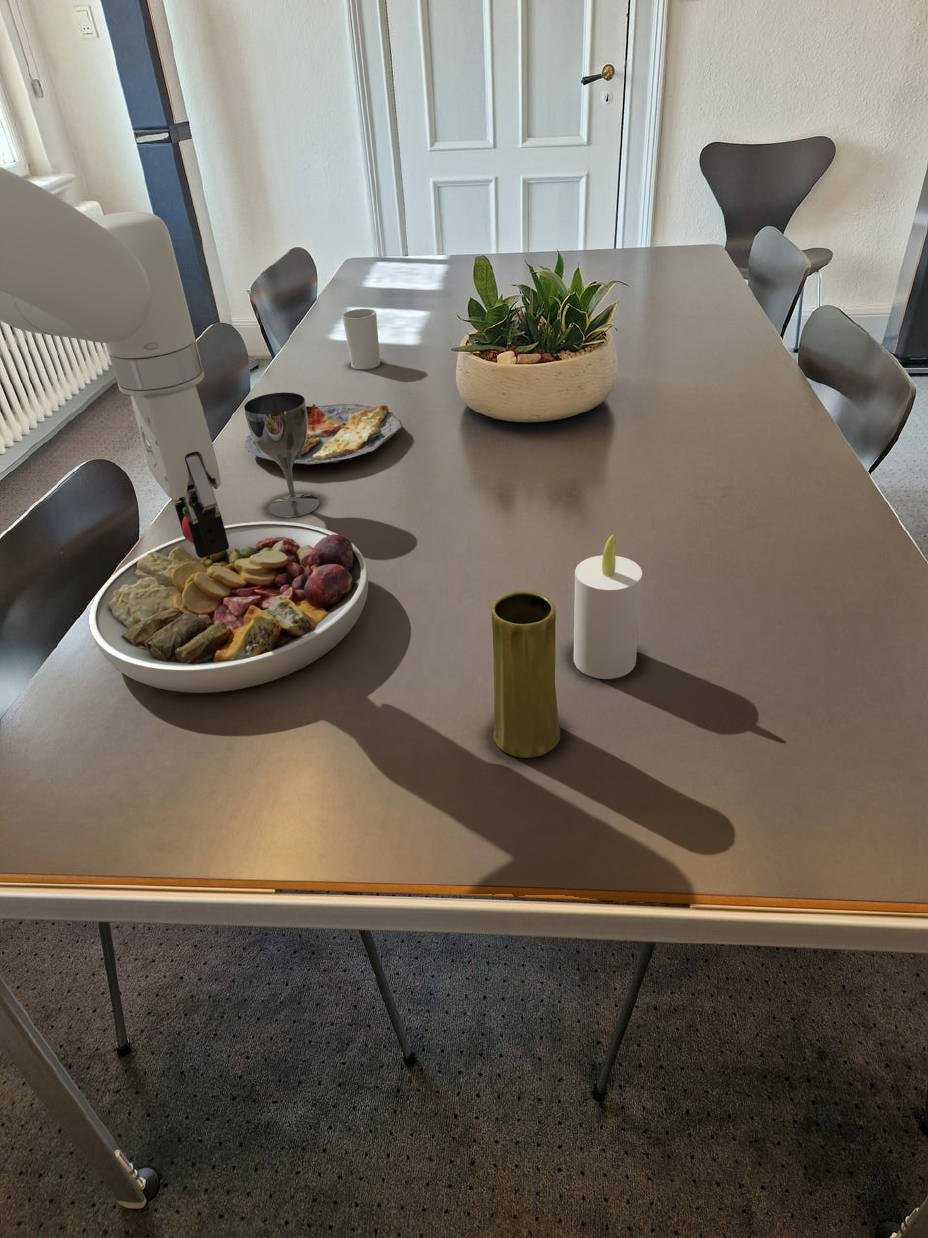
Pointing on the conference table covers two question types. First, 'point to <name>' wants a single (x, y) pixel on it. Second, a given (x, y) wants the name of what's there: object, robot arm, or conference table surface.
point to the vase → (524, 674)
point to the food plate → (340, 432)
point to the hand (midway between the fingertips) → (206, 541)
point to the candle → (606, 614)
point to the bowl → (231, 607)
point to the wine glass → (282, 443)
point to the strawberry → (186, 524)
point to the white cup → (362, 338)
